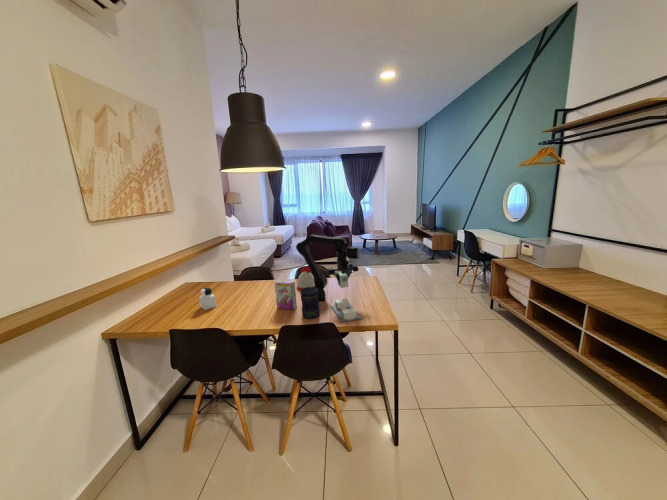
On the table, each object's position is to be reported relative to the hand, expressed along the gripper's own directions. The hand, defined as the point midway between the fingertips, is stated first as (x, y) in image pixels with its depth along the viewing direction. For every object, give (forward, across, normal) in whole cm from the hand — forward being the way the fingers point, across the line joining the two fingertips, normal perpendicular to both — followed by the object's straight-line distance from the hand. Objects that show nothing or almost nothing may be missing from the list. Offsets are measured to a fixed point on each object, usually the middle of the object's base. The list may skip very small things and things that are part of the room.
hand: (342, 283), depth 164 cm
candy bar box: (+12, -34, +4) cm, 37 cm away
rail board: (+12, -4, -15) cm, 20 cm away
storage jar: (+12, -23, -11) cm, 28 cm away
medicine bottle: (+12, -81, +25) cm, 86 cm away
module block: (+2, 0, 0) cm, 2 cm away
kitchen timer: (+12, -17, +35) cm, 41 cm away
